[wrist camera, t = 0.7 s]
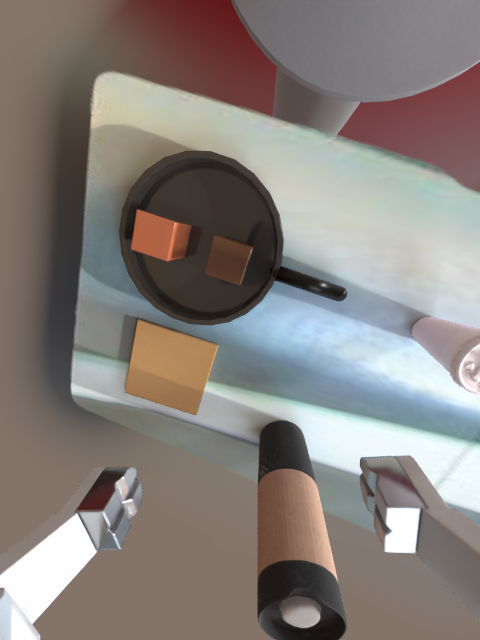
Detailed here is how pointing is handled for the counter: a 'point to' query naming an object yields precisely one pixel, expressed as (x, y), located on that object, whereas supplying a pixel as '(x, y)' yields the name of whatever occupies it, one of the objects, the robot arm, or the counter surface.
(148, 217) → the terracotta block
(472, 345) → the smoothie
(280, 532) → the travel mug
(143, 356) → the mat
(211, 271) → the walnut block
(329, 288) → the pan handle
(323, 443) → the counter surface
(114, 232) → the counter surface
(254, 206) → the pan
